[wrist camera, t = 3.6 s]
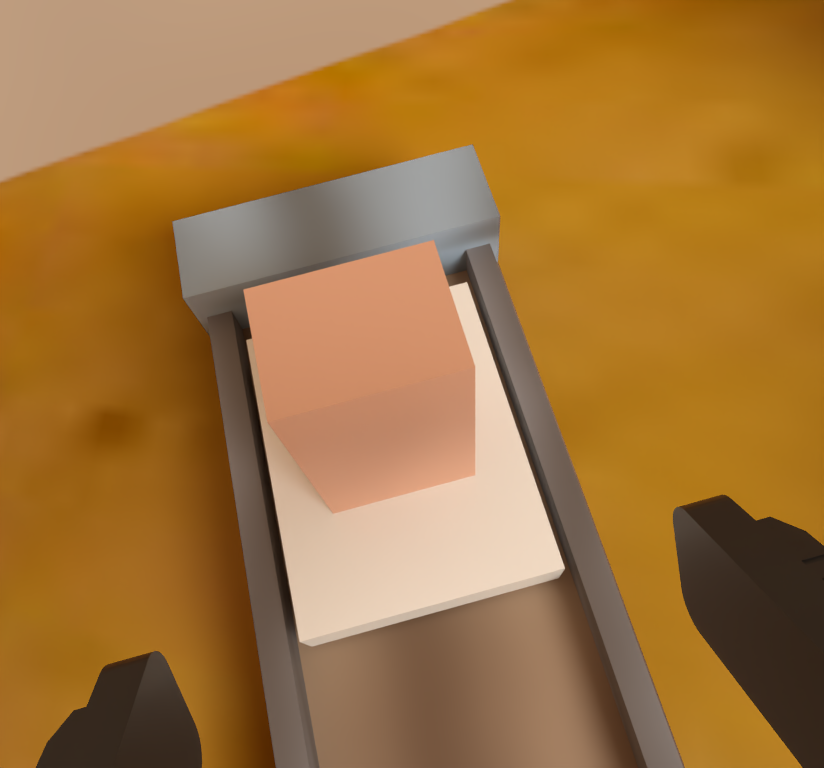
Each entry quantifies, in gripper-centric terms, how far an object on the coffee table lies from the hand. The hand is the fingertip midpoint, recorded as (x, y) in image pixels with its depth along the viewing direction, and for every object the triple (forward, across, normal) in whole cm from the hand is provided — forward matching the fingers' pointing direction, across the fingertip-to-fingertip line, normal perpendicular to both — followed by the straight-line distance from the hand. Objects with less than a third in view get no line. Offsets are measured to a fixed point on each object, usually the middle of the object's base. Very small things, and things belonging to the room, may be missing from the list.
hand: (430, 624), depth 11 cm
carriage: (+10, 0, +2) cm, 11 cm away
